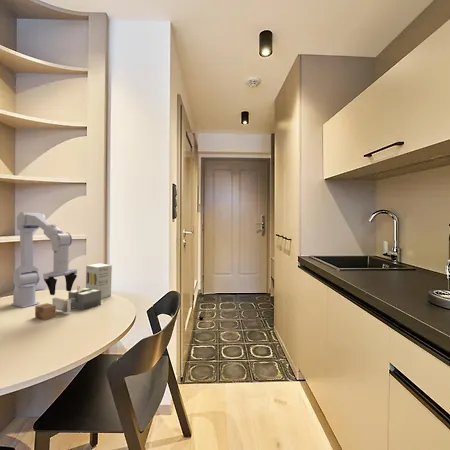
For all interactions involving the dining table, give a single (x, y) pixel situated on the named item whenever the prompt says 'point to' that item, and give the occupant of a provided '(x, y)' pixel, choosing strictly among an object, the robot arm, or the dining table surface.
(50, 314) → the walnut block
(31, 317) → the dining table surface
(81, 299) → the gauge housing
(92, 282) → the supplement box
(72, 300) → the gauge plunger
